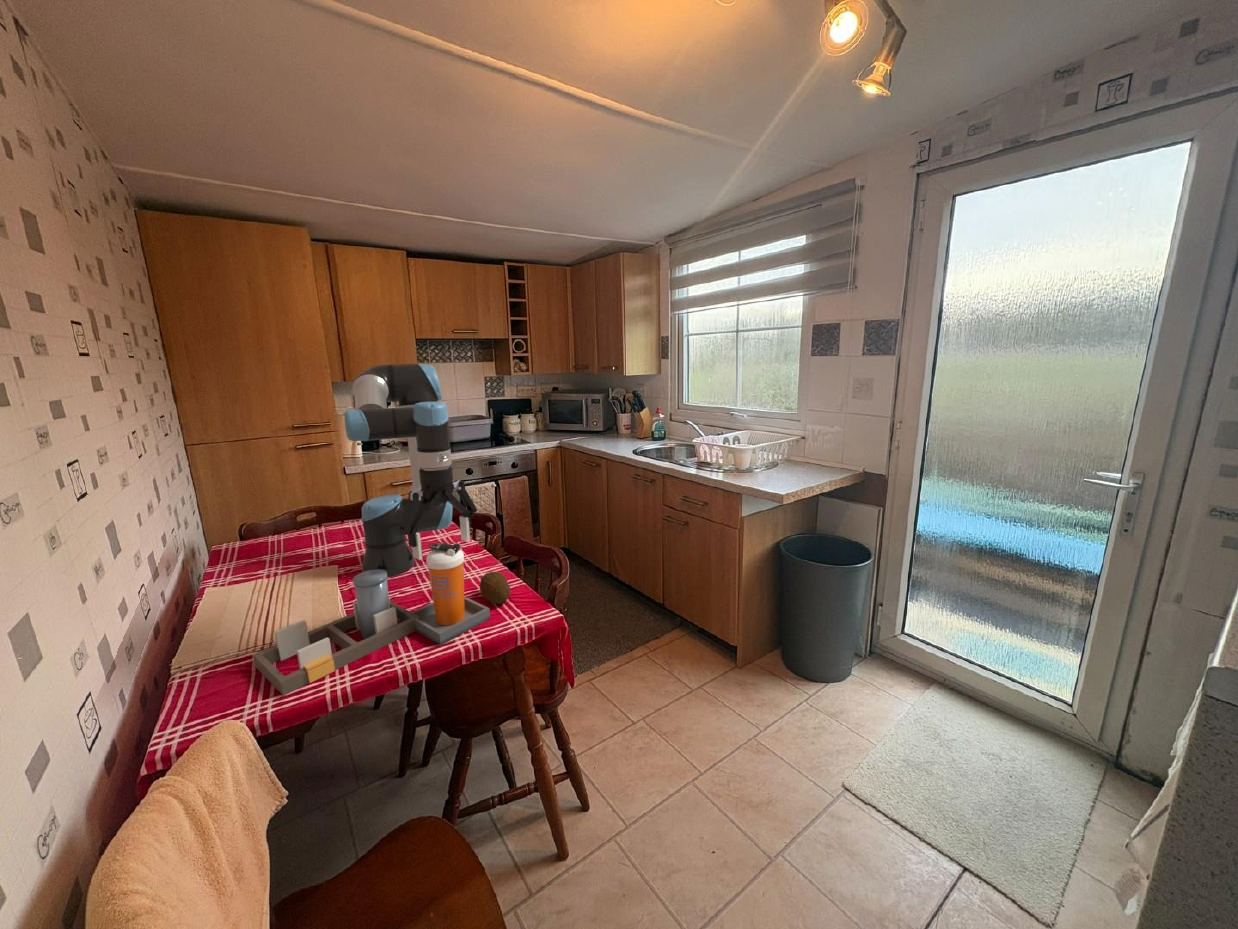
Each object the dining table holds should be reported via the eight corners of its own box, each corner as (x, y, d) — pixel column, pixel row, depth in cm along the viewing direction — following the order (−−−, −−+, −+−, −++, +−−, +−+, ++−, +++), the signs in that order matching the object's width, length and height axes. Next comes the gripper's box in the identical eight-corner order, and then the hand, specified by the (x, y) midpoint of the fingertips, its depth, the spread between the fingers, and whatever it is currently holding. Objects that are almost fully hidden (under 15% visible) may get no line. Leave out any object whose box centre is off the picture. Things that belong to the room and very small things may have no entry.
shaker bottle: (437, 610, 128) (431, 539, 123) (471, 608, 128) (466, 538, 124) (427, 628, 119) (419, 553, 114) (464, 627, 120) (458, 552, 115)
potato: (492, 612, 128) (491, 586, 126) (471, 595, 137) (469, 570, 135) (519, 602, 133) (517, 576, 132) (497, 586, 142) (496, 562, 140)
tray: (406, 625, 122) (405, 614, 121) (456, 602, 133) (455, 592, 133) (440, 645, 113) (439, 634, 113) (490, 618, 125) (489, 608, 124)
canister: (354, 632, 119) (347, 577, 115) (383, 619, 125) (377, 567, 121) (369, 643, 114) (362, 586, 111) (399, 629, 120) (393, 574, 117)
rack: (255, 666, 106) (249, 638, 104) (388, 609, 130) (385, 585, 128) (284, 696, 96) (278, 666, 95) (422, 628, 120) (419, 603, 119)
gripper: (393, 480, 103) (403, 570, 108) (487, 459, 123) (492, 537, 128) (376, 475, 108) (386, 562, 113) (469, 455, 127) (474, 530, 132)
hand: (442, 549), depth 120 cm, fingers open, 13 cm apart
